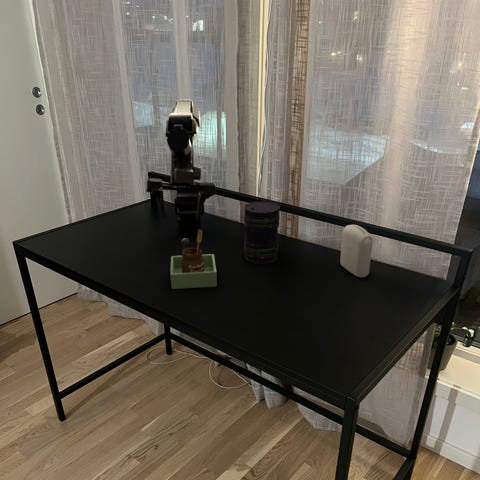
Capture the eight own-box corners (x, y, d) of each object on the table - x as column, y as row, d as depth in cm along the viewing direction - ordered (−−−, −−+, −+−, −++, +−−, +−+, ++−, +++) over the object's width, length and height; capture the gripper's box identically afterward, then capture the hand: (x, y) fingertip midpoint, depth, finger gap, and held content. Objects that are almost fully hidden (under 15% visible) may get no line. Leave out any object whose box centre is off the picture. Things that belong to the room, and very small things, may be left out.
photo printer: (337, 264, 144) (341, 222, 138) (350, 261, 145) (355, 220, 139) (356, 279, 136) (362, 235, 129) (370, 276, 137) (376, 232, 131)
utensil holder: (177, 275, 137) (174, 233, 131) (196, 268, 141) (193, 227, 135) (191, 282, 133) (188, 239, 127) (210, 275, 137) (208, 232, 131)
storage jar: (269, 247, 154) (270, 199, 147) (284, 260, 147) (286, 209, 139) (238, 253, 151) (238, 204, 143) (252, 266, 143) (252, 214, 136)
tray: (172, 269, 142) (170, 256, 140) (214, 267, 143) (213, 254, 141) (171, 288, 132) (170, 274, 130) (217, 286, 133) (216, 272, 131)
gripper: (148, 151, 130) (148, 213, 131) (220, 157, 134) (219, 217, 135) (146, 161, 141) (145, 219, 142) (213, 166, 145) (212, 222, 146)
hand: (180, 219), depth 141 cm, fingers open, 9 cm apart
